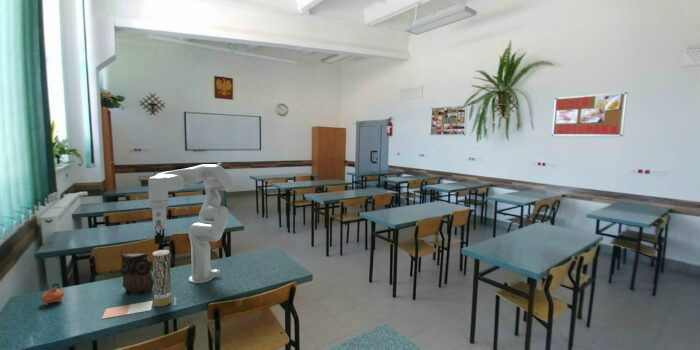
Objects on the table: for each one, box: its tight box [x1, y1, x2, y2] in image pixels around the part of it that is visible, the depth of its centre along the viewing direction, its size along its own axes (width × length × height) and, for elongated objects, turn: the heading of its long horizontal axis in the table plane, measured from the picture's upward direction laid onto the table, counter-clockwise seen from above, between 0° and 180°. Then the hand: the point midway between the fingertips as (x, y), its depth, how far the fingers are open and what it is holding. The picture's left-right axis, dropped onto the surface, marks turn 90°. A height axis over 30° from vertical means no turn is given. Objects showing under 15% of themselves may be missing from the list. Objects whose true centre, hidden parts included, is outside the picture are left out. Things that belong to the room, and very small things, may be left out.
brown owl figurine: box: [120, 253, 154, 296], centre depth 164 cm, size 13×13×20 cm
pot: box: [40, 288, 65, 306], centre depth 152 cm, size 8×8×7 cm
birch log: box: [151, 249, 172, 308], centre depth 153 cm, size 7×7×25 cm
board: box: [101, 296, 177, 320], centre depth 150 cm, size 28×9×1 cm, turn 117°
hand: (159, 240), depth 150 cm, fingers open, 9 cm apart
